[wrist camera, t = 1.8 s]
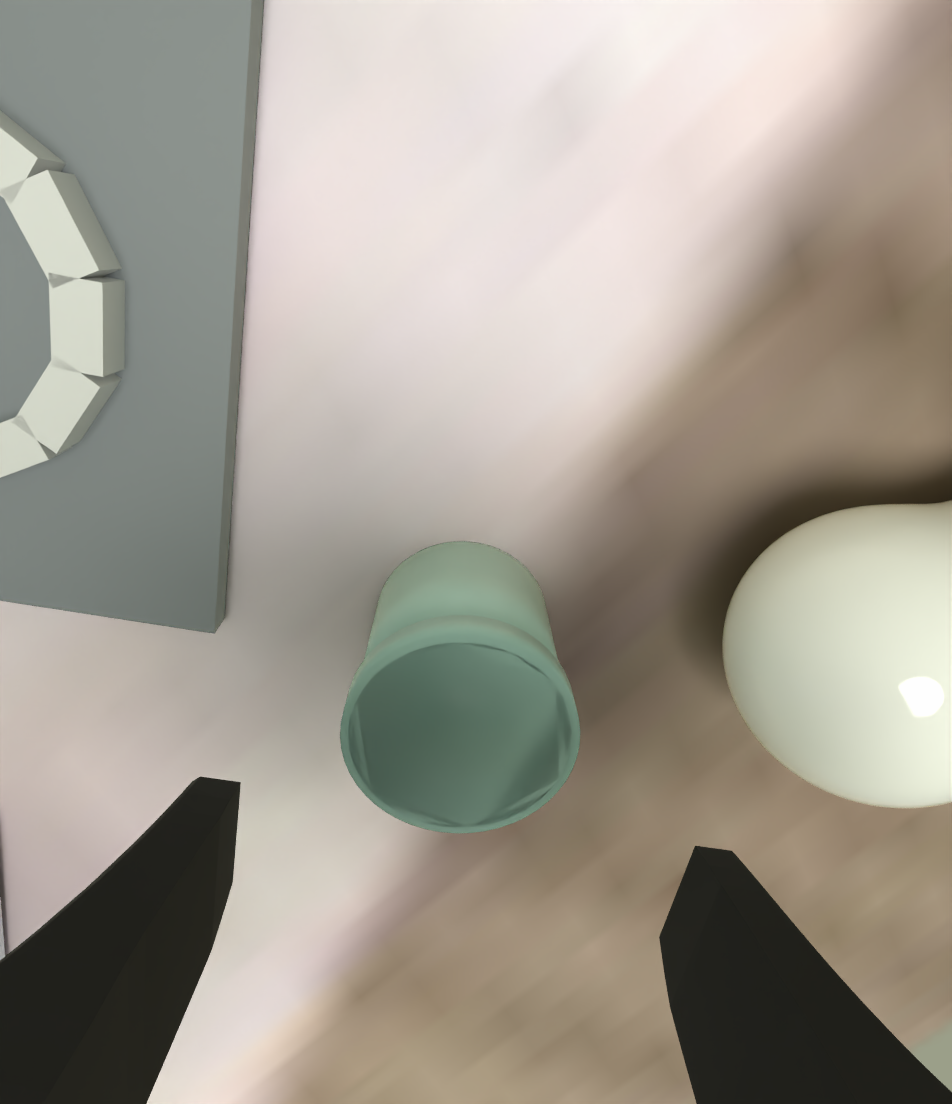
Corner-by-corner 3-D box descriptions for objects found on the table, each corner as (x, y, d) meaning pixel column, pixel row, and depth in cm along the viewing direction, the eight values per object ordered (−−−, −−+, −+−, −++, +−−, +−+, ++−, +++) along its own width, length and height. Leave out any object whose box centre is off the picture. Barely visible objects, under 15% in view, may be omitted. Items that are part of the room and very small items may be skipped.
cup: (530, 708, 20) (550, 846, 16) (360, 682, 20) (328, 817, 15) (571, 552, 18) (606, 656, 14) (383, 520, 18) (355, 616, 13)
